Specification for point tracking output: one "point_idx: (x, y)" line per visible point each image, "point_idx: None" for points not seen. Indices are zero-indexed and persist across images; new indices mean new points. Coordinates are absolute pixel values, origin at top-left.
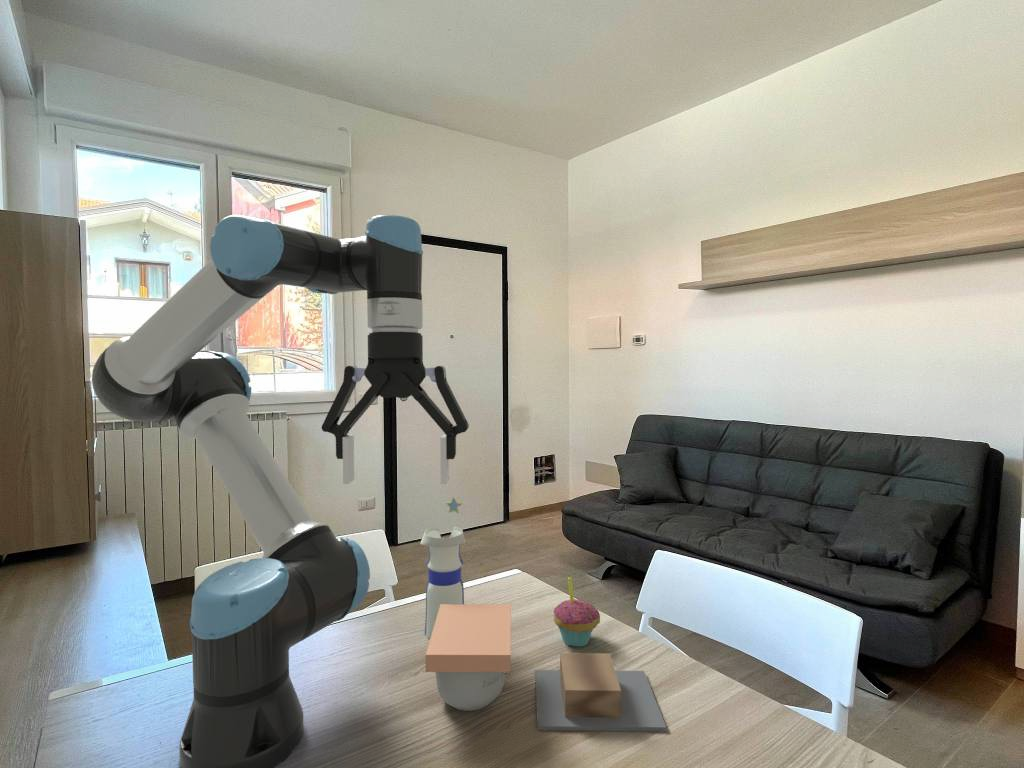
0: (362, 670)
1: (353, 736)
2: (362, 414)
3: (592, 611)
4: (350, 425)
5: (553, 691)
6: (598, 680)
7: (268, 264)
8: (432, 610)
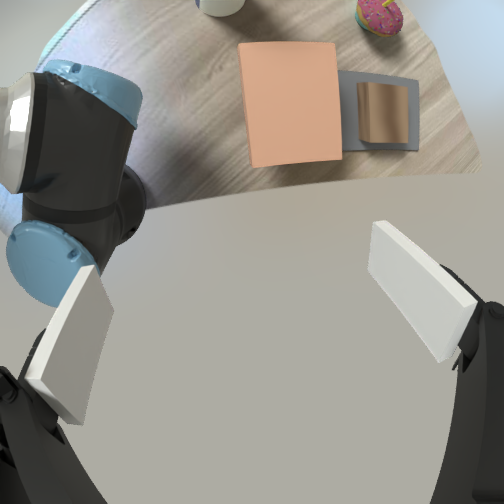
0: (149, 82)
1: (184, 176)
2: (64, 481)
3: (401, 23)
4: (77, 461)
5: (350, 104)
6: (395, 128)
7: None
8: (209, 2)
